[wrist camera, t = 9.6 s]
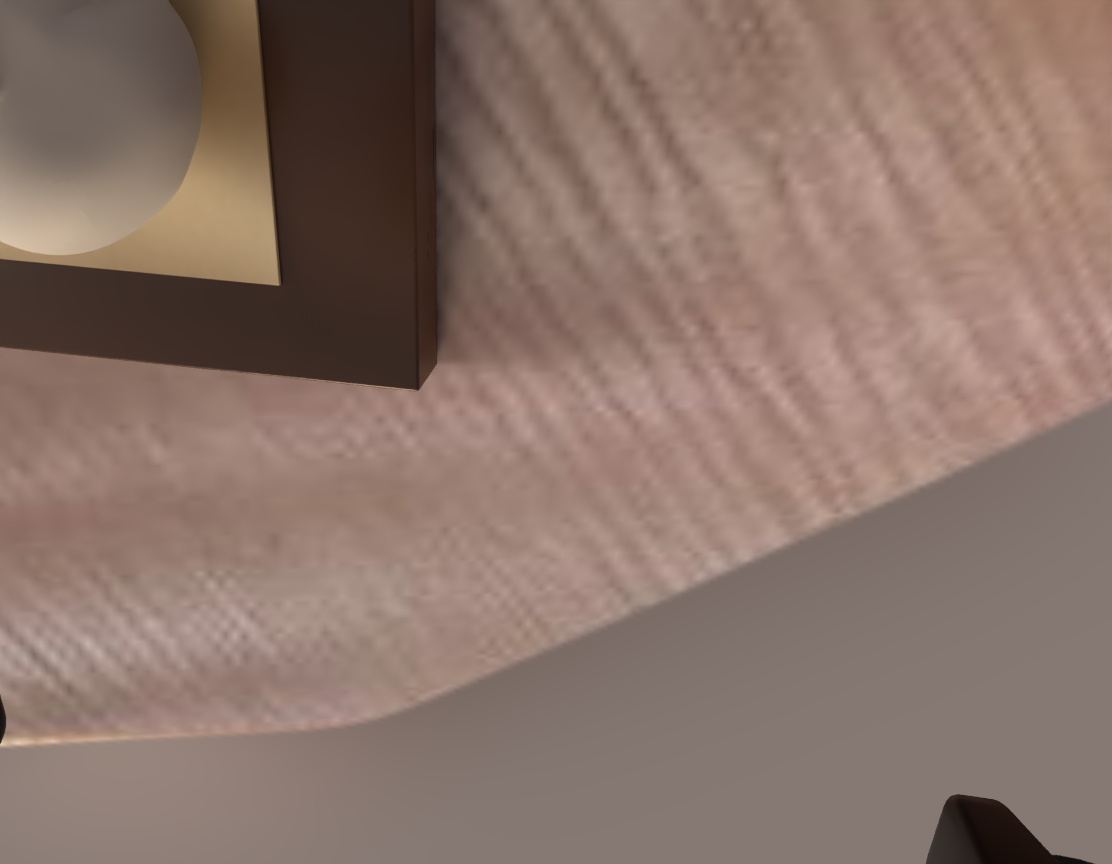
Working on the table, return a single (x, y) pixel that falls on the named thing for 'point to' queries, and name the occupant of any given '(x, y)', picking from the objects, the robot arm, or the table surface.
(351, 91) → the flat display stand
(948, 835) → the robot arm
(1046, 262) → the table surface
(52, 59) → the smooth white sculpture
